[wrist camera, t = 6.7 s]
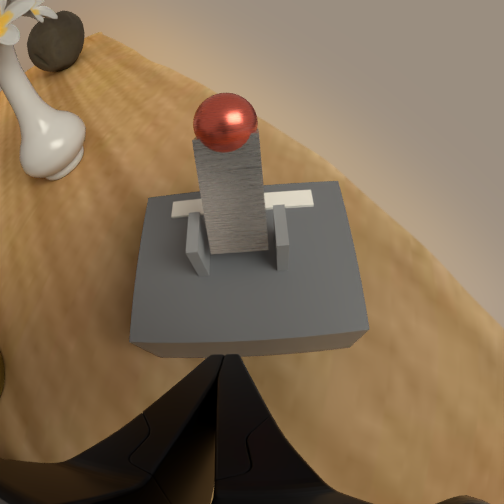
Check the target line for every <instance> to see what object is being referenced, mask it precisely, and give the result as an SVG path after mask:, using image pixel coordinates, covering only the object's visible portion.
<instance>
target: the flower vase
mask: <svg viewBox="0 0 504 504" xmlns="http://www.w3.org/2000/svg"><path fill="white" fill-rule="evenodd" d="M44 1H45V0H0V86H1V88H2V90H3V92H4V94H5V96H6V98H7V99H8V101H9V103H10V105H11V107H12V109H13V110H14V113H15V115H16V117H17V119H18V122H19V126H20V131H21V145H20V163H21V166H22V168H23V170H24V171H25V173H26V174H27V175H29V176H32V177H34V178H46V179H48V180H57V179H60V178H62V177H64V176H66V175H67V174H69V173H70V172H71V171H72V170H73V169H74V168H75V167H76V166H77V165H78V164H79V162H80V160H81V159H82V156H83V154H84V148H83V144H84V141H85V134H86V127H85V124H84V122H83V120H82V119H81V118H80V117H79V116H77V115H76V114H74V113H72V112H69V111H63V110H57V109H54V108H53V107H51V106H49V105H48V104H47V103H45V102H44V101H43V100H42V98H41V97H40V96H39V95H38V93H37V92H36V91H35V89H34V88H33V86H32V84H31V83H30V81H29V79H28V78H27V76H26V74H25V73H24V71H23V69H22V67H21V65H20V63H19V61H18V58H17V55H16V52H15V49H14V44H16V43H17V42H18V41H19V39H20V33H19V30H18V28H17V27H16V26H15V25H13V24H10V23H11V22H13V21H14V20H15V19H17V18H19V17H20V16H27V17H31V18H34V19H36V20H37V21H39V22H41V23H43V22H44V19H43V17H46V18H52V19H57V18H58V16H57V15H56V13H55V12H54V11H53V10H52V9H50V8H49V7H46V6H39V5H40V4H42V2H44ZM37 6H39V7H37Z"/></svg>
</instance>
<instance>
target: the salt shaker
mask: <svg viewBox="0 0 504 504" xmlns="http://www.w3.org/2000/svg"><path fill="white" fill-rule="evenodd" d="M3 386H4V363H3V358H2V355H1V352H0V396H1V393H2V390H3Z"/></svg>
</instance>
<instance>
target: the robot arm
mask: <svg viewBox="0 0 504 504" xmlns="http://www.w3.org/2000/svg"><path fill="white" fill-rule="evenodd" d="M213 487H214V496H213V500H212V503H211V504H373V503H369V502H366V501H363V500H360V499H357V498H354V497H351V496H349V495H346V494H343V493H340V492H338V491H336V490H334V489H333V488H331V487H330V486H329V485H328V484H326V483H325V482H324V481H323V480H322V479H321V478H320V477H319V476H318V475H317V474H316V472H315V471H314V470H313V469H312V468H311V467H310V466H309V465H308V464H307V463H306V461H305V460H304V459H303V458H302V457H301V456H300V455H299V454H298V452H297V451H296V450H295V449H294V448H293V447H292V445H291V444H290V443H289V441H288V440H287V439H286V438H285V436H284V435H283V433H282V432H281V430H280V428H279V427H278V425H277V424H276V422H275V420H274V418H273V417H272V415H271V413H270V411H269V410H268V408H267V406H266V404H265V402H264V401H263V399H262V397H261V395H260V393H259V391H258V389H257V388H256V386H255V384H254V382H253V380H252V378H251V376H250V375H249V373H248V371H247V369H246V367H245V365H244V363H243V361H242V359H241V357H240V355H239V354H226V355H225V356H224V355H223V354H212V355H210V356H209V357H208V358H206V359H205V360H204V361H203V362H202V363H201V364H199V365H198V366H197V367H196V368H195V369H194V370H192V371H191V372H190V373H189V374H188V375H187V376H185V377H184V378H183V379H182V380H181V381H180V382H178V383H177V384H176V385H175V386H174V387H172V388H171V389H170V390H169V391H168V392H166V393H165V394H164V395H163V396H162V397H160V398H159V399H158V400H157V401H155V402H154V403H153V404H152V405H151V406H149V407H148V408H147V409H146V410H144V411H143V413H141V414H139V415H138V416H137V417H136V418H134V419H133V420H132V421H130V422H129V423H128V424H126V425H125V426H124V427H122V428H121V429H120V430H118V431H117V432H115V433H113V434H112V435H110V436H109V437H107V438H106V439H104V440H102V441H101V442H99V443H97V444H96V445H94V446H92V447H91V448H89V449H87V450H86V451H84V452H82V453H80V454H79V455H77V456H75V457H73V458H71V459H69V460H67V461H64V462H59V463H36V462H25V461H16V460H8V459H1V458H0V504H210V502H211V497H212V492H213ZM437 504H489V503H488V502H485V501H483V500H480V499H477V498H474V497H471V496H467V495H465V496H457V497H453V498H450V499H447V500H444V501H442V502H439V503H437Z"/></svg>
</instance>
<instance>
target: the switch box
mask: <svg viewBox="0 0 504 504" xmlns="http://www.w3.org/2000/svg"><path fill="white" fill-rule="evenodd" d="M263 187H264V199H265V211H266V223H267V236H268V250H264V251H250V252H237V253H224V254H211V251H210V246H209V240H208V235H207V229H206V223H205V218H204V212H203V206H202V200H201V194H200V192H191V193H183V194H174V195H166V196H159V197H151V198H148V203H147V208H146V214H145V219H144V225H143V231H142V237H141V243H140V250H139V257H138V264H137V271H136V279H135V287H134V296H133V305H132V315H131V327H130V340H129V342H130V343H132V344H134V345H136V346H138V347H140V348H142V349H144V350H146V351H148V352H150V353H152V354H155V355H157V356H159V357H166V358H208V357H209V356H210V355H212V354H223V355H224V356H225V355H226V354H239V355H240V357H245V356H264V355H279V354H292V353H303V352H314V351H323V350H332V349H341V348H349V347H351V346H352V345H353V344H354V343H355V342H356V341H357V340H358V339H359V338H361V337H362V336H363V335H364V334H365V333H366V332H367V331H368V330H369V324H368V317H367V311H366V305H365V299H364V294H363V288H362V283H361V278H360V272H359V267H358V263H357V258H356V253H355V248H354V244H353V239H352V235H351V231H350V226H349V222H348V218H347V214H346V210H345V206H344V202H343V198H342V194H341V190H340V187H339V183H338V181H327V182H308V183H291V184H276V185H263Z"/></svg>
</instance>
